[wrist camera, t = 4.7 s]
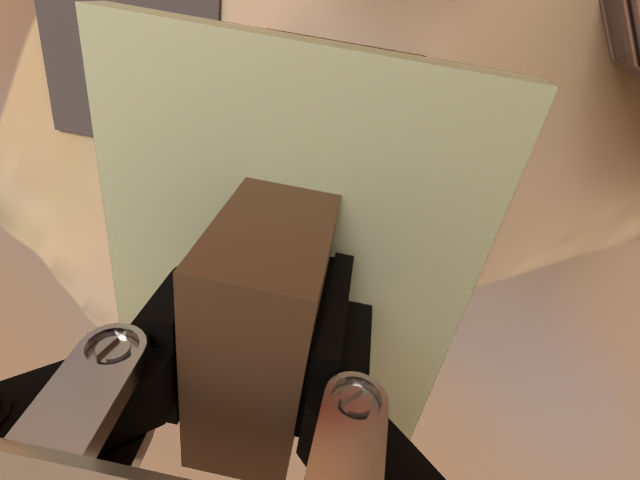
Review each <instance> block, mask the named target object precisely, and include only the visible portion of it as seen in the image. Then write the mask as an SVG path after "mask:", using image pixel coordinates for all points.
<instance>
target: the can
mask: <svg viewBox="0 0 640 480" xmlns="http://www.w3.org/2000/svg"><path fill="white" fill-rule="evenodd" d="M599 3H600V8H601V12H602V17H603V22H604V27H605V32H606V37H607V42H608V47H609V52H610V57H611V61H613V62H614V63H616V64H617V65H619V66H621V67H622V68H624V69H626V70H627V71H629V72H630V73H632V74H634V75H635V76H637V77H638V78H640V0H599Z"/></svg>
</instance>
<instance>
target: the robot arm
mask: <svg viewBox="0 0 640 480" xmlns="http://www.w3.org/2000/svg"><path fill="white" fill-rule="evenodd" d="M353 261H354V256H352V255H347V254H342V253H337V252H336V254H335V257H331V256H330V258H329V262H328V267H327V271H326V276H325V281H324V285H323V290H322V294H321V299H320V304H319V308H318V313H317V317H316V322H315V327H314V331H313V336H312V340H311V345H310V350H309V355H308V360H307V365H306V371H305V376H304V382H303V387H302V393H301V398H300V404H299V409H298V415H297V420H296V425H295V431H294V436H296V437H299V440H298V446H297V451H296V453H297V454H298V456H299V457H300V459H301V460H302V462H303V463H304V464H305V466H306V472H305V476H304V480H446V479H445V478H444V477H443V476H442V475H441V474H440V473H439V472H438V471H437V469H436V468H435V467H434V466H433V465H432V464H431V463H430V462H429V461H428V460H427V459H426V458H425V456H424V455H423V454H422V453H421V452H420V451H419V450H418V449H417V448H416V447H415V446H414V445H413V443H412V442H410V440H409V439H408V438H407V437H406V436H405V435H404V434H403V433H402V432H401V431H400V429H399V428H398V427H397V426H396V425H395V424H394V423H393V422H392V421H391V420H390V419H389V418H388V417H389V399H388V395H387V393H386V391H385V389H384V388H383V387H382V386H381V384H380V383H379V382H378V381H376V380H375V379H374V378H372V377H371V376H369V372H370V351H371V330H372V305H368V304H363V303H358V302H353V301H348V300H349V292H350V284H351V276H352V269H353ZM176 268H177V267H175V268H174V269H173V270H172V271H171V272H170V273H169V275H168V276H167V277H166V279H165V280H164V281H163V282H162V284H161V285H160V286H159V288H158V289H157V290H156V292H155V293H154V294H153V295H152V297H151V298H150V299H149V301H148V302H147V303H146V304H145V306H144V307H143V308H142V310H141V311H140V312H139V314H138V315H137V316H136V317H135V319H134V320H133V321H132V323H131V324H127V323H114V324H108V325H104V326H101V327H99V328H96V329H95V330H93V331H91V332H89V333H88V334H87V335H86V336H85V337H84V338H82V339H81V341H80V342H79V343H78V344H77V346H76V347H75V348H74V349H73V351H72V352H71V353H70V354H69V356H68V357H67V358H66V359H65V360H62V361H59V362H56V363H53V364H50V365H47V366H44V367H41V368H38V369H35V370H32V371H29V372H26V373H23V374H20V375H17V376H14V377H12V378H9V379H6V380H3V381H0V480H189V479H185V478H181V477H176V476H172V475H167V474H163V473H159V472H154V471H150V470H145V469H141V468H139V466H140V464H141V462H142V460H143V458H144V455H145V453H146V451H147V449H148V447H149V444H150V442H151V440H152V438H153V435H154V431H155V428H157V427H160V426H162V425H164V424H165V423H166V422H167V423H172V424H178V422H179V420H180V419H179V397H178V375H177V354H176V332H175V310H174V288H173V272H174V270H175V269H176Z"/></svg>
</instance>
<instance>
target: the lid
mask: <svg viewBox="0 0 640 480" xmlns="http://www.w3.org/2000/svg"><path fill="white" fill-rule="evenodd" d="M75 6H76V13H77V20H78V28H79V35H80V42H81V49H82V57H83V64H84V71H85V78H86V86H87V93H88V100H89V107H90V115H91V122H92V129H93V136H94V144H95V151H96V158H97V165H98V173H99V180H100V187H101V194H102V202H103V209H104V216H105V223H106V231H107V238H108V245H109V252H110V260H111V267H112V274H113V281H114V289H115V296H116V303H117V310H118V318H119V323H127V324H131V323H132V321H133V320H134V319H135V317H136V316H137V315H138V314H139V312H140V311H141V310H142V308H143V307H144V306H145V304H146V303H147V302H148V301H149V299H150V298H151V297H152V295H153V294H154V293H155V292H156V290H157V289H158V288H159V286H160V285H161V284H162V282H163V281H164V280H165V279H166V277H167V276H168V275H169V273H170V272H171V271H172V270H173V269H174V268H175V267H177V268H176V269H175V270H174V272H173V288H174V310H175V332H176V354H177V375H178V397H179V419H180V441H181V460H182V461H181V462H182V466H183V467H188V468H192V469H197V470H201V471H205V472H210V473H214V474H219V475H223V476H228V477H232V478H237V479H241V480H286V475H287V470H288V465H289V461H290V456H291V451H292V446H293V441H294V437H295V436H294V431H295V425H296V420H297V415H298V409H299V404H300V398H301V393H302V387H303V382H304V376H305V371H306V365H307V360H308V355H309V350H310V345H311V340H312V336H313V331H314V327H315V322H316V317H317V313H318V308H319V304H320V299H321V294H322V290H323V285H324V281H325V276H326V271H327V267H328V262H329V258H330V256H331V257H335V254H336V252H337V253H342V254H347V255H352V256H354V261H353V269H352V276H351V284H350V292H349V300H348V301H353V302H358V303H363V304H368V305H372V330H371V351H370V372H369V376H371V377H372V378H374V379H375V380H376V381H378V382H379V383H380V384H381V386H382V387H383V388H384V389H385V391H386V393H387V395H388V399H389V417H388V418H389V419H390V420H391V421H392V422H393V423H394V424H395V425H396V426H397V427H398V428H399V429H400V431H401V432H402V433H403V434H404V435H405V436H406V437H407V438H408V439H409V440H410V439H411V436H412V434H413V432H414V429H415V427H416V425H417V422H418V420H419V417H420V415H421V413H422V410H423V408H424V406H425V403H426V401H427V399H428V396H429V394H430V392H431V389H432V387H433V384H434V382H435V380H436V377H437V375H438V373H439V370H440V368H441V365H442V363H443V361H444V358H445V356H446V353H447V351H448V349H449V347H450V344H451V342H452V339H453V337H454V335H455V332H456V330H457V328H458V325H459V323H460V320H461V318H462V315H463V313H464V311H465V309H466V306H467V304H468V302H469V299H470V297H471V294H472V292H473V290H474V287H475V285H476V283H477V280H478V278H479V275H480V273H481V271H482V268H483V266H484V264H485V261H486V259H487V257H488V254H489V252H490V249H491V247H492V245H493V242H494V240H495V238H496V235H497V233H498V230H499V228H500V226H501V223H502V221H503V219H504V216H505V214H506V212H507V209H508V207H509V204H510V202H511V200H512V197H513V195H514V193H515V190H516V188H517V185H518V183H519V181H520V178H521V176H522V174H523V171H524V169H525V166H526V164H527V162H528V159H529V157H530V155H531V152H532V150H533V148H534V145H535V143H536V140H537V138H538V136H539V133H540V131H541V129H542V126H543V124H544V121H545V119H546V117H547V114H548V112H549V110H550V107H551V105H552V103H553V100H554V98H555V95H556V93H557V91H558V88H559V86H557V85H555V84H553V83H551V82H550V81H548V80H546V79H544V78H542V77H538V76H532V75H526V74H520V73H515V72H509V71H503V70H498V69H492V68H486V67H481V66H475V65H469V64H463V63H458V62H452V61H446V60H441V59H435V58H429V57H424V56H418V55H412V54H406V53H401V52H395V51H389V50H384V49H378V48H372V47H367V46H361V45H355V44H349V43H344V42H338V41H332V40H327V39H321V38H315V37H310V36H304V35H298V34H292V33H287V32H281V31H275V30H270V29H264V28H258V27H253V26H247V25H241V24H235V23H230V22H224V21H218V20H213V19H207V18H201V17H196V16H190V15H184V14H178V13H173V12H167V11H161V10H156V9H150V8H144V7H139V6H133V5H127V4H121V3H116V2H110V1H75Z"/></svg>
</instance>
